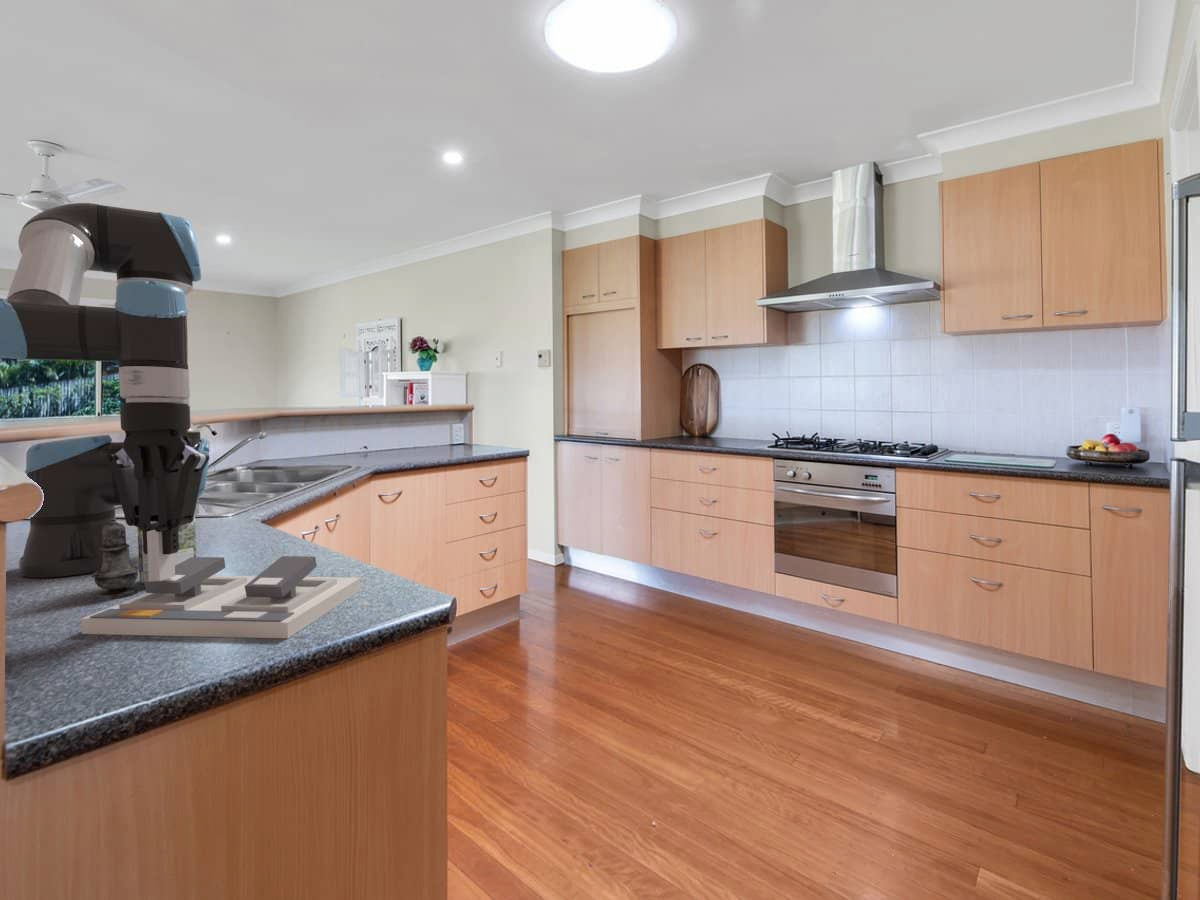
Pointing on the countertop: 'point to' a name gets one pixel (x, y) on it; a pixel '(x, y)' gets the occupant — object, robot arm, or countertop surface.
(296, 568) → the switch
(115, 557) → the grey tiered stone piece
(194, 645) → the countertop surface
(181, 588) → the switch
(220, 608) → the switch panel
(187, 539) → the syrup box
